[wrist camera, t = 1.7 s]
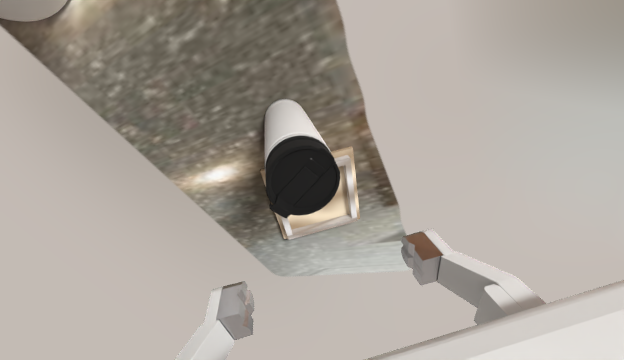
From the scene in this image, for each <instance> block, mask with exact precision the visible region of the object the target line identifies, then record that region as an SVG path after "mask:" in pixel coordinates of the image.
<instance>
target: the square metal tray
mask: <svg viewBox="0 0 624 360" xmlns="http://www.w3.org/2000/svg"><path fill="white" fill-rule="evenodd" d="M331 154H332V155H333V157H334V159H335V162H336V164H337V166H338V168H339V170H340V184H339V187H338V190H337V192H336V194H335V196H334V197H333V199H332V200H331V201H330V202H329V203H328V204H327V205H326V206H325V207H323V208H322V209H320V210H319V211H316V212H314V213H312V214H308V215H301V216H297V215H290V216H289V217H288V218H284V217H282V216H280V215H278V214H277V213H275V214H276V217H277V220H278V223H279V225H280V228H281V231H282V234H283V237H284V239H289V240H290V239H294V238H297V237H301V236H305V235H308V234H312V233H316V232H319V231H323V230H327V229H330V228H334V227H337V226H341V225H345V224H348V223H352V222H356V221H357V219H360V214H359V204H358V195H357V185H356V175H355V165H354V155H353V148H352V147H347V148H343V149H339V150H335V151H331ZM260 172H261V175H262V178H263V181H264V184H265V186H266V176H265V169H261V170H260ZM271 203H272V202H271ZM272 205H273V204H272Z"/></svg>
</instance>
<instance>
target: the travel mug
mask: <svg viewBox="0 0 624 360" xmlns="http://www.w3.org/2000/svg"><path fill="white" fill-rule="evenodd" d="M265 176H266V192H267V196H268V197H269V199H270V201H271V202H272V204H273V205H272V204H270V209H271V210H272V211H274V212H275V213H277V214H278V215H280V216H282V217H284V218H288V217H289V216H290V215H297V216H301V215H308V214H312V213H314V212H316V211H319V210H320V209H322V208H323V207H325V206H326V205H327V204H328V203H329V202H330V201H331V200H332V199H333V197H334V196H335V194H336V192H337V190H338V187H339V184H340V170H339V168H338V166H337V164H336V162H335V159H334V157H333V155H332V154H331V152H330V150H329V148H328V146H327V145H326V143H325V142H324V140H323V139H322V137H321V136H320V134H319V133H318V131H317V130H316V128H315V127H314V125H313V124H312V122H311V121H310V119H309V118H308V116H307V115H306V113H305V112H304V110H303V108H302V107H301V106H300V105H299V104H298V103H297V102H295V101H293V100H290V99H280V100H277V101H275V102H274V103H272V104H271V105H270V106H269V107H268V109H267V111H266V113H265Z"/></svg>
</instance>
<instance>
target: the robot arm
mask: <svg viewBox="0 0 624 360" xmlns="http://www.w3.org/2000/svg"><path fill="white" fill-rule="evenodd" d="M66 2H67V0H0V18H3V19H7V20H13V21H23V22H28V21H37V20H42V19H45V18H48V17H50V16H52V15H54V14H55V13H57V12H58V11H59V10H60V9H61V8H62V7H63V6H64V5H65V3H66ZM402 243H403V247H402V248H401V253H402V256H403V259H404V261H405V263H406V264H407V266H408V267H410V268H412V269H413V275H414V277H415V278H416V279H417V281H418V282H419V284H420V285H424V284H428V283H431V282H435V281H437V282H438V283H440V284H441V285H443V286H444V287H446V288H447V289H449V290H450V291H452V292H454V293H455V294H457V295H458V296H460V297H461V298H463V299H465V300H466V301H467V302H469V303H470V304H472V305H474V306H475V307H477V308H478V309H477V312H476V315H475V318H474V321H475V322H476V324H477V325H476V326H473V327H469V328H466V329H463V330H459V331H456V332H453V333H450V334H446V335H443V336H440V337H437V338H434V339H430V340H427V341H424V342H420V343H417V344H414V345H410V346H408V347H404V348H401V349H397V350H394V351H391V352H388V353H384V354H381V355H378V356H375V357H371V358H368V359H365V360H624V280H622V281H619V282H616V283H613V284H609V285H606V286H603V287H599V288H597V289H593V290H590V291H586V292H583V293H580V294H577V295H573V296H570V297H567V298H564V299H561V300H557V301H554V302H551V303H547V304H546V303H545V302H544V301H543V300H542V299H541V298H540V297H539V296H537V295H536V294H535V293H534V292H533V291H532V290H531V289H529V288H528V287H527V286H526V285H525V284H524V283H523V282H522V281H521V280H519V279H518V278H517V277H516V276H514V275H511V274H509V273H506V272H504V271H502V270H500V269H497V268H495V267H493V266H490V265H488V264H485V263H483V262H481V261H478V260H476V259H474V258H471V257H469V256H467V255H464V254H462V253H460V252H454V251H453V250H452V249H451V248H450V247H449V246H448V245H447V244H446V243H445V242H444V241H443V240H442V239H441V238H440V237H439V235H438V234H437V233H436V232H435V231H434V230H432V229H428V230H425V231H421V232H417V233H413V234H410V235H407V236H403V237H402ZM253 311H254V300H253V296H252V293H251V291H250V290H247V284H246V283H245V281H243V282H239V283H236V284H232V285H227V286H223V287H220V288H216V289H213V290H212V292H211V295H210V299H209V303H208V307H207V312H206V316H205V321H204V324H203V325H200V326H199V328H198V329H197V330H196V332H195V333H194V334H193V336H192V337H191V338H190V340H189V341H188V342H187V344H186V345H185V346H184V348H183V349H182V351H181V352H180V354H178V356H177V357H176V358H175V360H226V358H227V356H228V354H229V352H230V350H231V348H232V346H233V344H234V342H235V341H234V340H237V339H240V338H243V337H246V336H250V335H252V334H253V319H252V317H251V314H252V312H253Z"/></svg>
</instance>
